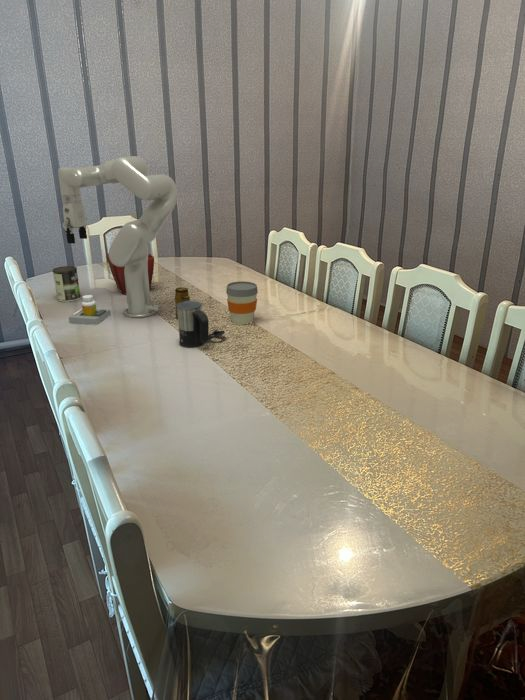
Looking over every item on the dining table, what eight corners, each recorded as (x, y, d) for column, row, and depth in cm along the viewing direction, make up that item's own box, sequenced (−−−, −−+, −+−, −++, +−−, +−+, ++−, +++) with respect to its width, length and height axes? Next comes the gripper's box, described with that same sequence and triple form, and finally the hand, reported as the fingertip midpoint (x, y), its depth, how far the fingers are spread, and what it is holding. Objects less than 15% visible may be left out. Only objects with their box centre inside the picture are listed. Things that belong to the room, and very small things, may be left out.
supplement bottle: (93, 321, 211) (90, 298, 207) (81, 320, 212) (78, 297, 208) (100, 317, 216) (97, 294, 212) (88, 316, 217) (84, 294, 213)
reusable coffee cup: (244, 328, 203) (244, 292, 197) (220, 322, 210) (219, 286, 204) (264, 320, 212) (264, 284, 206) (240, 313, 219) (239, 279, 213)
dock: (110, 315, 218) (109, 307, 217) (96, 325, 207) (95, 317, 206) (84, 313, 220) (83, 305, 219) (69, 323, 209) (68, 315, 208)
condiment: (186, 312, 221) (184, 285, 216) (197, 317, 215) (195, 290, 210) (171, 316, 217) (169, 288, 212) (181, 321, 211) (179, 293, 206)
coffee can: (84, 295, 243) (79, 265, 237) (76, 302, 234) (71, 271, 228) (62, 295, 243) (57, 265, 238) (53, 302, 234) (48, 271, 228)
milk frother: (173, 344, 189) (170, 306, 183) (198, 330, 202) (196, 294, 196) (206, 352, 183) (204, 312, 177) (229, 337, 195) (228, 299, 189)
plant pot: (109, 287, 256) (105, 253, 249) (148, 282, 263) (145, 249, 256) (117, 297, 240) (112, 262, 233) (157, 292, 247) (154, 257, 240)
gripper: (68, 202, 204) (75, 245, 211) (90, 196, 220) (95, 237, 227) (51, 201, 206) (58, 244, 212) (74, 196, 221) (80, 236, 228)
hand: (77, 240), depth 219 cm, fingers open, 9 cm apart
